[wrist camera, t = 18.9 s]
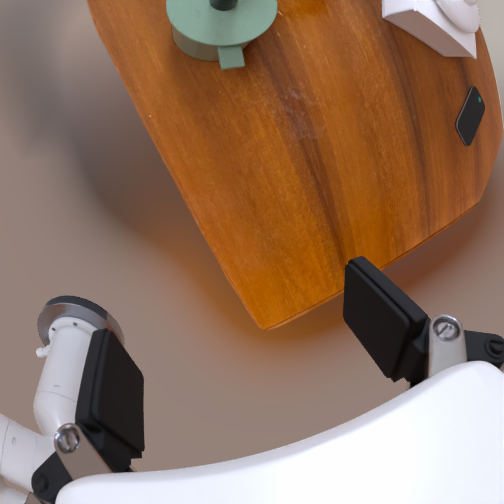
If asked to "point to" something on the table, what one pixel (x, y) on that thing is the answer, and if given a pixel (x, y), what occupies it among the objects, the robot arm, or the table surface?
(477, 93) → the smartphone
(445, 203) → the table surface
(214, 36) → the pot lid
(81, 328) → the robot arm
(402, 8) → the white box
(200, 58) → the pot
